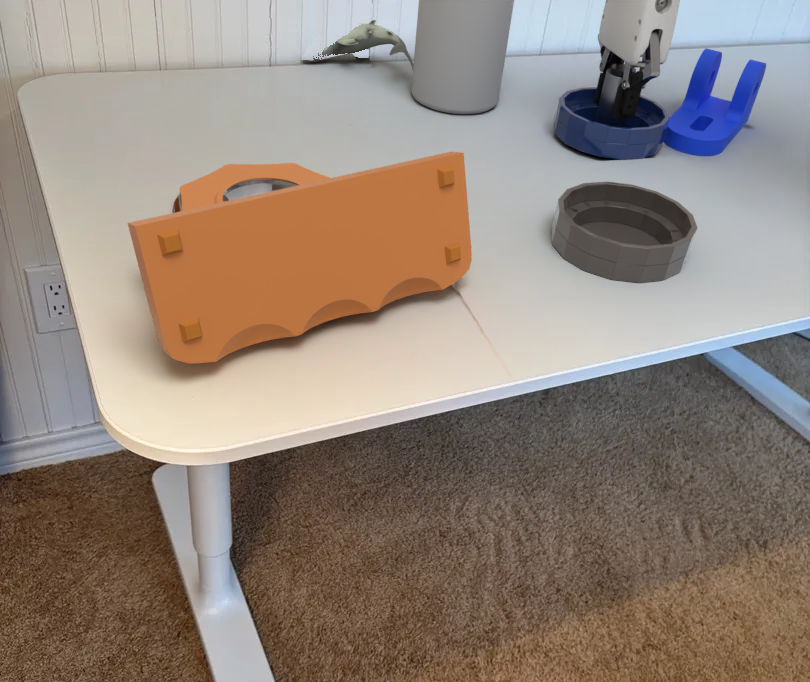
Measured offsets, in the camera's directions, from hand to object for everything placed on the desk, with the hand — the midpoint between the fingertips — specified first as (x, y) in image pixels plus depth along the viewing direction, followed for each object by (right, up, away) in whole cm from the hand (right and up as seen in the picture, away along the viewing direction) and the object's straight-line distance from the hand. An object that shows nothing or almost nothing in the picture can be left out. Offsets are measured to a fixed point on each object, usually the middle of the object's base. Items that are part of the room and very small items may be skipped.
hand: (613, 109), depth 108 cm
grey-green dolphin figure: (-35, +16, +12) cm, 41 cm away
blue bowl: (0, -3, +3) cm, 4 cm away
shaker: (0, -2, +2) cm, 2 cm away
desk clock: (-33, -27, -40) cm, 59 cm away
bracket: (+15, 0, +8) cm, 17 cm away
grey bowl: (-5, -22, -20) cm, 30 cm away
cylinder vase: (-20, +5, +10) cm, 23 cm away
